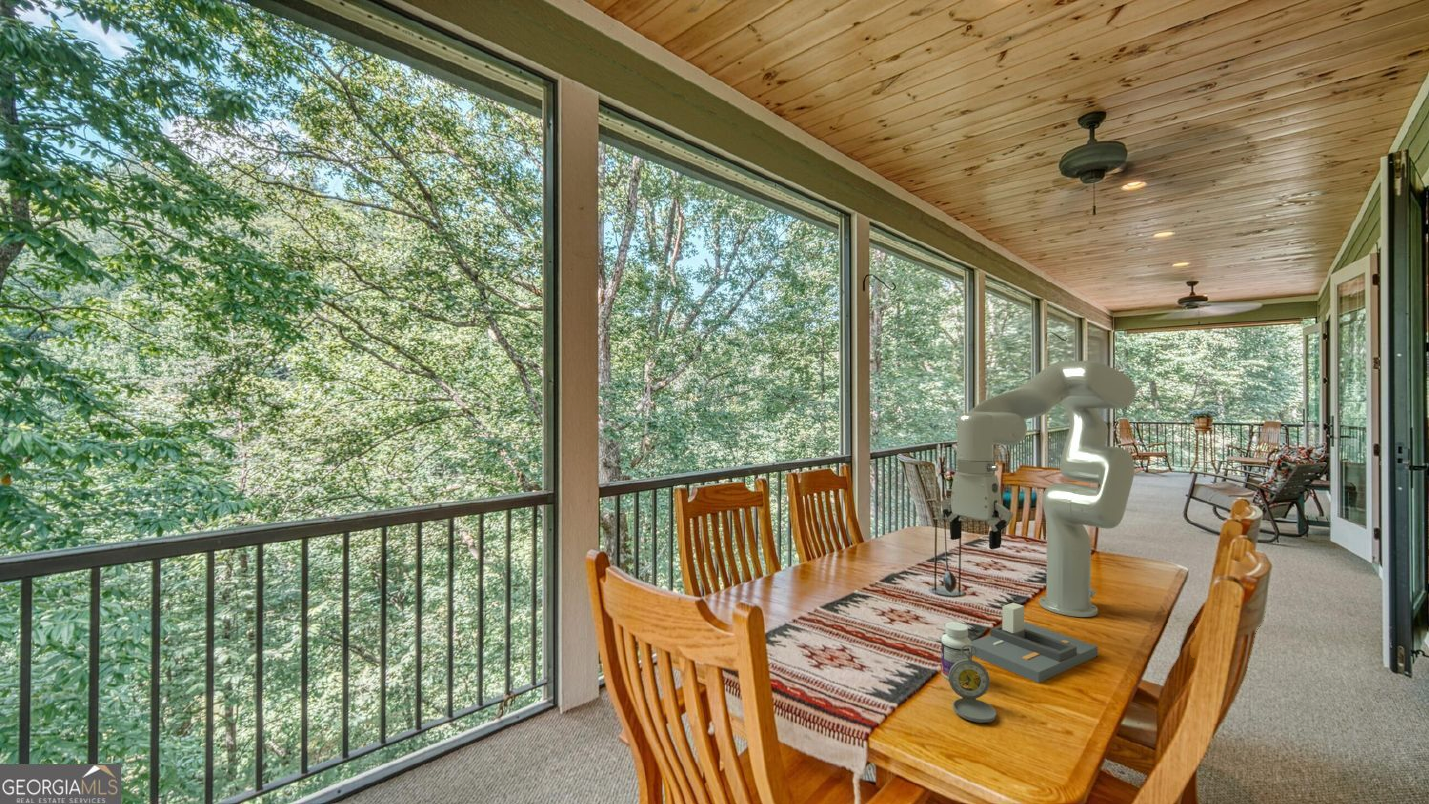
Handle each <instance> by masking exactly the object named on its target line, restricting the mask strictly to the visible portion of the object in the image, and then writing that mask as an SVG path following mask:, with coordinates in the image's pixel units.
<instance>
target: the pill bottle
mask: <svg viewBox="0 0 1429 804" xmlns="http://www.w3.org/2000/svg"><path fill="white" fill-rule="evenodd" d="M944 627H945V628H944V629H945V633H944V634H943V635H942V636H941V640H940V641H941V644H940V645H941V649H940V650H941V663H940V666H941V667H940V668H941V671H940V672H941V675H942V677H943V678H945V679H946V680H948V681H949V671H950V669H951V667H952V666H953V664H955V663H956V662H958V661H960V660H963V659H967V658H968V657H967V656H966V655H965V654H963V653H962V651H961V648H962V647H963V646H965V645H970V646H972V642H971V641H972V640H971V639H970V638H969V637H968V635H969V627H968V625H966V624H964V623H962V622H956V621H953V622H952V621H950V622H946V623H945V625H944ZM968 651H970V652H971V653H972V647H969V646H968V647H964V648H963V652H964V653H968ZM971 660H973V656H972V657H971ZM958 681H959V680H958ZM966 681H967V680H966ZM966 681H964V683H965V684H966ZM959 682H961V681H959ZM967 682H968V681H967Z"/></svg>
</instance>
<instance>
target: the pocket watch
mask: <svg viewBox="0 0 1429 804" xmlns="http://www.w3.org/2000/svg"><path fill="white" fill-rule="evenodd" d="M968 646H969V647H972V648H974V649H975V653H973V654H972V653H971V652H970V651H968V653H964V652H963V648H964V647H968ZM961 651H962V653H963V654H965V655H966V656H967V657H968V658H967V659H963V660H960V661H958V662H956V663H955V664H953V666H952V667H951V669H950V671H949V680H948V683H949V685H950V688H951V689H952V691H954V693H955V694H956V695H957V696H959V697H961V698H957V699H955V700H954V701H953V703H952V709H953V711H954V712H955V713H956V714H957V715H958V716H959V717H961V718H963V719H964V720H968V721H969V722H974V723H981V724H982V723H991V722H993V721H994V720H996V718H997V711H996V709H995V708H994V707H993V706H992V705H990V704H988V703H987V702H985V701H982V700H979V699H978V698H981V697H982V696H984V695H985V694H987V691H988V690H989V687H990V685H991V682H990V680H991V679H990V675H989V673H988V671H987V669H986V668H985V666H984V665H982V663H980V662H978V661H976V660H973V659H972V660H971V657H972V658H973V657H974V656H973V655H975V654H976V653H977V650H976V648H975V647H973V646H970V645H965V646H963V647H962V648H961ZM958 680H959V681H961V682H959V681H958ZM966 680H967V681H968V682H967V681H966ZM964 681H966V683H964ZM977 681H978V682H977ZM964 685H965V686H964Z"/></svg>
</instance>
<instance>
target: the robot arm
mask: <svg viewBox="0 0 1429 804" xmlns="http://www.w3.org/2000/svg"><path fill="white" fill-rule="evenodd" d="M1136 391H1137V390H1136V386H1135V382H1134V381H1133V380H1132V379H1131V377H1129V376H1128V375H1127V374H1125V373H1123V372H1121V371H1119V370H1117V369H1115V368H1113V367H1111V366H1109V365H1107V364H1104V363H1102V362H1099V361H1096V360H1095V361H1094V360H1079V361H1078V360H1075V361H1074V360H1073V361H1060V362H1055V363H1052V364H1051V363H1050V364H1049V365H1048V366H1046V367H1045V368H1044V369H1042V370H1041V371H1040V372H1038V373H1037V374H1036V375H1034V376H1033V377H1031V378H1030V379H1029V380H1027V381H1026V382H1025V383H1023V385H1020V386H1019V387H1016V388H1013V389H1009V390H1007V391H1005V392H1003V393H999V394H997V395H995V396H991V397H989V398H987V399H985V400H983V401H981V402H980V403H978V404H976V405H974V407H973V408H971V409H970V410H969V411H968V412H967V413H962V414H959V415H958V416H957V422H956V472H954V475H953V479H952V484H951V485H952V486H951V494H950V495H951V496H949V497H947V498H945V499H943V500H941V501H940V506H941V508H942V510H943V514H944V515H945V516H946V518H947V522H948V523H949V534H950V540H952V541H954V540H960V539H962V521H961V518H968V519H973V520H978V521H984V522H986V523H987V525H988V526H989V528H990V529H991V530H989V532H988V548H989V549H990V550H996V549H999V548H1000V549H1001V545H1002V531H1003V530H1005V528H1006V527H1007V526H1008V525H1010V522H1011V520H1012V519H1013V516H1014V513H1013V512H1012V511H1011V510H1010V509H1008V508H1007V507H1006V506H1004V505H1003V504H1002V495H1001V494H1002V493H1001V488H1000V487H1001V486H1000V482H999V479H998V475H996V474H994V473H995V472H998V470H999V465H997V464H995V461H994V445H998V446H999V445H1001V446H1013V445H1017V444H1019V443H1020V442H1022V441H1023V440H1024V439H1025V437H1026V435H1027V434H1028V427H1027V423H1026V421H1025V420H1030V419H1033V418H1034V419H1035V418H1037V417H1040V416H1042V417H1043V416H1044V415H1046V414H1048V413H1049V412H1050V411H1052V410H1053V409H1054V408H1055V407H1056V406H1058V405H1059V404H1062V405H1063V408H1064V409H1065V412H1066V414H1067V415H1066V416H1067V417H1068V422H1069V427H1068V432H1067V435H1066V440H1065V443H1064V447H1063V450H1062V453H1061V458H1060V462H1059V463H1060V464H1059V471H1060V474H1061V475H1062V476H1063V477H1065V478H1066V479H1069V480H1072V481H1077V482H1081V483H1082V482H1084V483H1091V484H1096V485H1099V487H1095V486H1088V485H1081V484H1075V483H1067V482H1066V483H1065V482H1062V483H1061V482H1060V483H1052V484H1051V485H1048V486H1047V487H1046V489H1045V490H1044V492H1043V494H1042V508H1043V512H1044V517H1045V523H1046V524H1045V525H1046V526H1045V527H1046V584H1045V585H1046V587H1045V589H1046V590H1045V591H1046V595H1045V596H1042V597H1040V598H1039V606H1041V607H1042V608H1043V609H1045V610H1046V611H1050V612H1052V613H1056V614H1060V615H1063V616H1067V617H1074V618H1075V617H1076V618H1077V617H1078V618H1091V617H1094V616H1097V615H1098V613H1099V610H1098V607H1097V606H1096V605H1094V604H1093V603H1091V597H1094V596H1096V594H1097V593H1096V592H1097V591H1096V590H1095V589H1093V588H1091V579H1092V578H1091V569H1092V568H1091V567H1092V565H1091V563H1092V562H1091V561H1092V555H1091V554H1092V551H1091V550H1092V548H1091V547H1092V543H1091V542H1092V541H1091V539H1090V538H1091V537H1090V535H1089V532H1088V531H1087V529H1086V528H1085V526H1088V527H1093V528H1100V529H1109V530H1111V529H1114V528H1116V527H1119V525H1120V524H1121V521H1122V520H1123V518H1124V515H1125V512H1126V508H1127V504H1128V502H1129V501H1128V500H1129V497H1130V492H1131V489H1132V485H1133V482H1134V476H1135V469H1136V468H1135V462H1134V458H1133V456H1132V454H1131V453H1130V452H1129V451H1128V450H1126V449H1124V448H1122V447H1119V446H1118V447H1117V446H1110V445H1108V446H1107V445H1106V442H1107V439H1108V434H1109V428H1108V425H1107V423H1106V422H1105V420H1104V419H1103V417H1102V416H1101V414H1099V412H1098V411H1097V409H1099V410H1102V409H1104V410H1106V409H1107V410H1108V409H1109V410H1115V409H1116V410H1117V409H1118V410H1120V409H1121V410H1122V409H1125V408H1128V407H1129V406H1130V405H1131V404H1133V402H1134V400H1135V398H1136V395H1137V392H1136ZM1000 519H1001V520H1000Z"/></svg>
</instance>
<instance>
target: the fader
mask: <svg viewBox="0 0 1429 804" xmlns="http://www.w3.org/2000/svg"><path fill="white" fill-rule="evenodd" d="M1001 615H1002V620H1001V621H1002V623H1001V625H1002V631H1004V632H1007V633H1010V634H1012V635H1015V636H1018V637H1021V638H1025V630H1024V623H1025V605H1022V604H1019V603H1015V602H1012V603H1008V604H1005V605H1002V613H1001Z"/></svg>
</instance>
